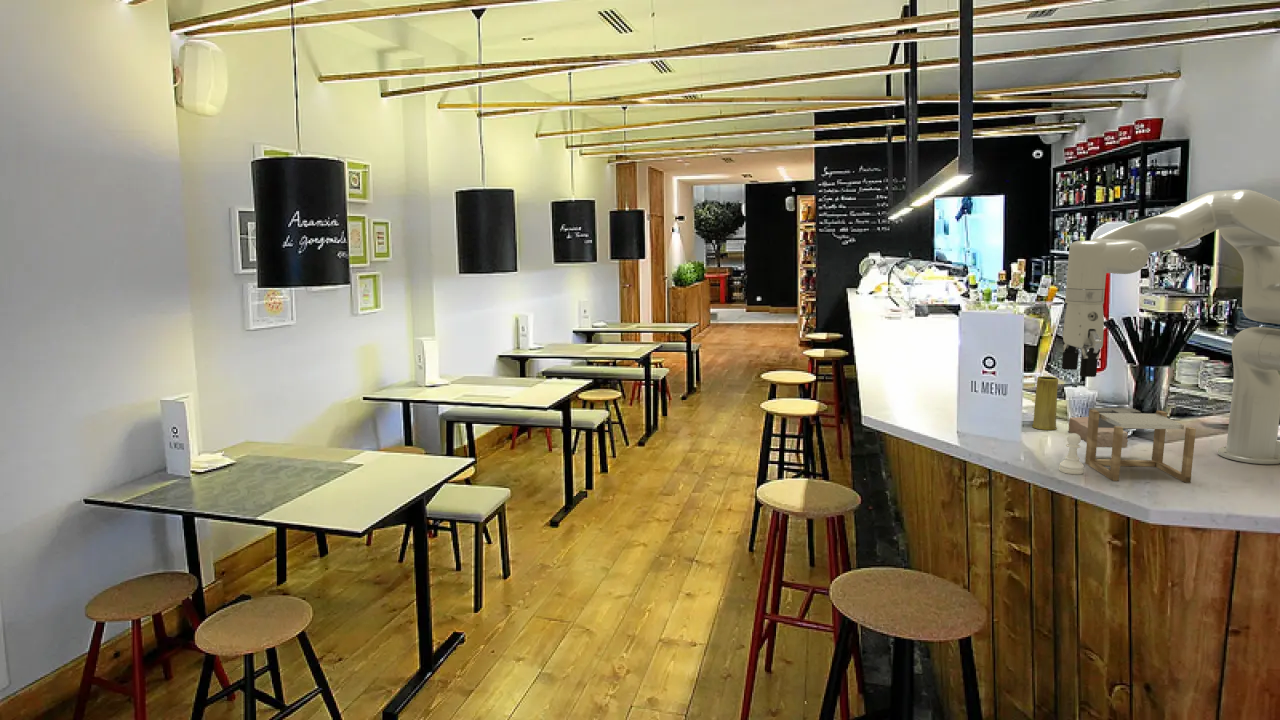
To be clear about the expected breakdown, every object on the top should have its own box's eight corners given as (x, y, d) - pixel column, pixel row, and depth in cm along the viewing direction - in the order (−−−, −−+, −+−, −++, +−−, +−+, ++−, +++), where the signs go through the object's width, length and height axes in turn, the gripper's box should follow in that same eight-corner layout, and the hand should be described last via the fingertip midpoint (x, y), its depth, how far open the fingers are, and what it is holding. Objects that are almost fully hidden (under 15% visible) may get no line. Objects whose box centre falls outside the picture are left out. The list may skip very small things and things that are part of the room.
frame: (1156, 464, 188) (1161, 410, 186) (1190, 482, 175) (1196, 424, 173) (1085, 463, 190) (1089, 409, 188) (1113, 480, 176) (1117, 423, 174)
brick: (1129, 448, 204) (1130, 430, 203) (1094, 448, 204) (1096, 430, 204) (1098, 433, 220) (1099, 416, 219) (1066, 432, 221) (1067, 416, 220)
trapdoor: (1081, 423, 196) (1082, 405, 195) (1137, 424, 194) (1139, 406, 194) (1119, 443, 177) (1121, 423, 176) (1182, 444, 175) (1184, 424, 175)
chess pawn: (1087, 471, 183) (1090, 433, 182) (1078, 476, 180) (1081, 437, 179) (1064, 467, 187) (1067, 429, 186) (1055, 471, 184) (1058, 433, 183)
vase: (1057, 426, 226) (1061, 377, 224) (1055, 431, 221) (1059, 380, 218) (1033, 424, 229) (1036, 375, 227) (1030, 428, 224) (1034, 378, 222)
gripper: (1121, 299, 169) (1114, 379, 171) (1085, 294, 186) (1079, 366, 188) (1083, 299, 169) (1077, 379, 172) (1051, 294, 186) (1045, 366, 189)
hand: (1078, 372), depth 180 cm, fingers open, 9 cm apart
